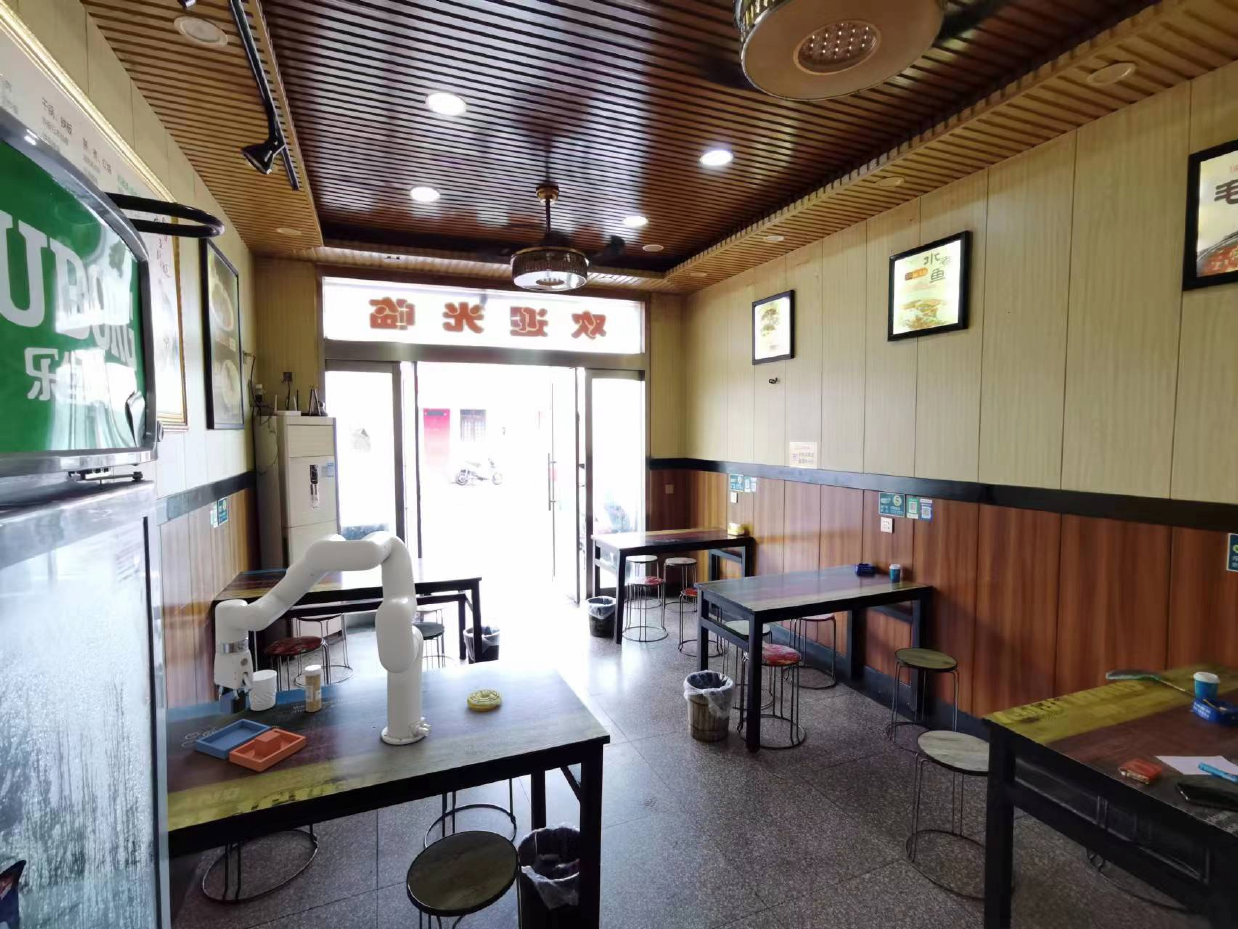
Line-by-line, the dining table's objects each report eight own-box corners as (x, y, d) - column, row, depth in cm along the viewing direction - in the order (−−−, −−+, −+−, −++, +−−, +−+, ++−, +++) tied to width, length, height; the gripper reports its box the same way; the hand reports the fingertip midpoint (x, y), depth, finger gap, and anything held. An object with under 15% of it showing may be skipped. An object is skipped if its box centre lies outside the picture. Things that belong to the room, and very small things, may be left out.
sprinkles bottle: (323, 709, 186) (323, 667, 185) (307, 714, 183) (307, 671, 182) (318, 704, 189) (318, 663, 188) (303, 708, 186) (302, 666, 185)
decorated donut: (506, 708, 190) (507, 696, 189) (474, 716, 184) (474, 704, 183) (494, 695, 198) (494, 684, 198) (462, 703, 192) (463, 691, 192)
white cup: (282, 703, 189) (282, 672, 189) (258, 714, 182) (258, 682, 181) (266, 698, 193) (265, 668, 192) (242, 708, 185) (241, 677, 185)
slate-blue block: (246, 708, 167) (246, 693, 166) (230, 715, 163) (230, 699, 162) (235, 705, 168) (235, 690, 168) (220, 711, 164) (219, 696, 164)
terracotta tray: (305, 745, 165) (305, 737, 165) (260, 771, 153) (260, 762, 152) (276, 736, 169) (276, 728, 169) (229, 761, 157) (229, 752, 157)
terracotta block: (281, 749, 162) (280, 733, 162) (266, 757, 158) (265, 741, 158) (269, 746, 164) (269, 730, 163) (254, 754, 160) (254, 738, 159)
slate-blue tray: (271, 735, 170) (271, 726, 170) (224, 759, 158) (224, 750, 157) (243, 726, 174) (243, 718, 174) (195, 749, 162) (195, 741, 162)
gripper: (266, 646, 164) (267, 710, 166) (224, 636, 171) (225, 698, 172) (240, 655, 158) (241, 722, 159) (198, 645, 164) (199, 709, 165)
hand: (233, 708), depth 165 cm, fingers closed on slate-blue block, 4 cm apart
